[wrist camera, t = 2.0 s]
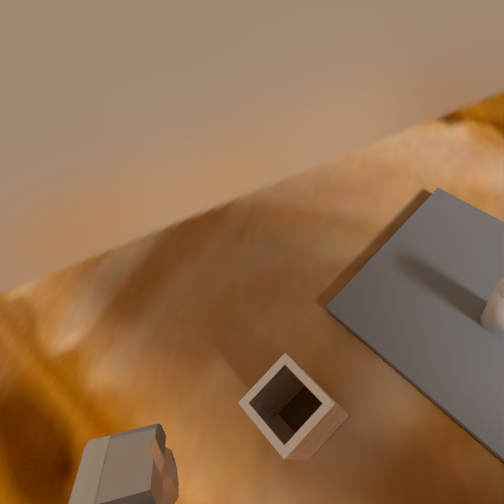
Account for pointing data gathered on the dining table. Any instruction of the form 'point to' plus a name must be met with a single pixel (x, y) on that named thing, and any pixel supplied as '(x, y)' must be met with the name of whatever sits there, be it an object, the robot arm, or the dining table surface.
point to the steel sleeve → (277, 397)
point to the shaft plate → (439, 311)
